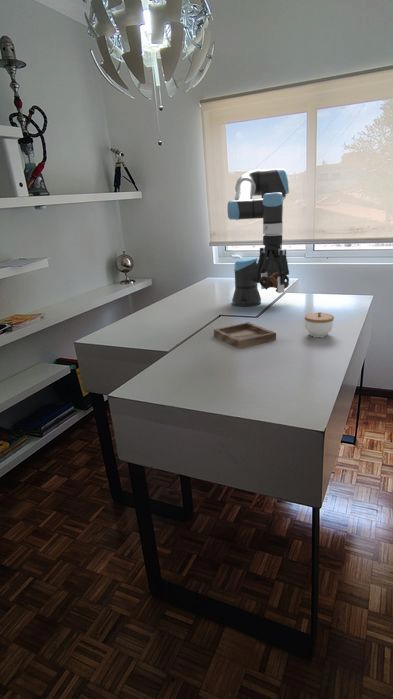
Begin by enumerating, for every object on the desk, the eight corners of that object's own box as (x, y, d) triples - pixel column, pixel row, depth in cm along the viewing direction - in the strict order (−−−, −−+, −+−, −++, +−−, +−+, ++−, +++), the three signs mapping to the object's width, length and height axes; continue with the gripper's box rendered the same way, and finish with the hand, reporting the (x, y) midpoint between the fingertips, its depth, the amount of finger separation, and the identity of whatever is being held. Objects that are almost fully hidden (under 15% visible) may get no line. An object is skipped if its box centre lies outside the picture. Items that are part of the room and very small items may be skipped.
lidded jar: (334, 339, 159) (335, 315, 156) (304, 339, 161) (305, 315, 158) (331, 331, 169) (332, 308, 165) (303, 330, 171) (304, 308, 168)
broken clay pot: (282, 288, 179) (289, 272, 173) (285, 302, 172) (292, 286, 166) (255, 282, 177) (261, 267, 171) (257, 297, 170) (263, 280, 165)
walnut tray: (213, 336, 171) (213, 329, 170) (248, 328, 178) (248, 322, 177) (239, 348, 155) (239, 341, 154) (276, 339, 162) (276, 332, 161)
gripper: (248, 234, 172) (248, 287, 179) (284, 236, 153) (283, 296, 160) (262, 232, 175) (262, 285, 183) (299, 234, 156) (298, 293, 164)
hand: (272, 290), depth 172 cm, fingers closed on broken clay pot, 10 cm apart
